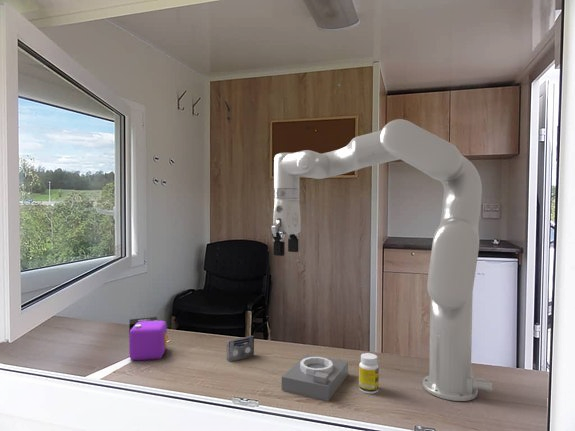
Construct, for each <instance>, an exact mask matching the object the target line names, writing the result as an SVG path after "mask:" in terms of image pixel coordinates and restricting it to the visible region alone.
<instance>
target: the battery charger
mask: <svg viewBox="0 0 575 431" xmlns="http://www.w3.org/2000/svg"><path fill="white" fill-rule="evenodd" d="M141 321H159V320H158V317H157V316H153V317H143V318H142V317H140V318H132V319H131V318H130V319H129V321H128V322H129V324H128V325H129V326H128V327H129V332H128V333H129V334H130V330H131V329H132V328H133V327H134V325H135V324H136V323H138V322H141Z"/></svg>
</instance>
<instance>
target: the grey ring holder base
mask: <svg viewBox="0 0 575 431" xmlns="http://www.w3.org/2000/svg"><path fill="white" fill-rule="evenodd" d="M348 375H349V361H346V360H340V359H337V358H336V359H335V358H330V357H324V356H319V355H314V354H309V353H308V354H305V355H304V356H303V357H302V358H301V359H300V360H299V361H297V363H295V364H294V365H292V367H291V368H289V369H288V371H287V372H285V373H283V375H282V376H281V391H282V390H283V391H282V392H286V391H287V393H290V392H291V393H290V394H295V395H300V396H304V397H307V398H308V397H309V398H312V399H317V400H320V401H324V402H329V400H331V398H332V397H333V396H334V394H335V393H336V392H337V390H339V388H340V386H341V385H342V383H343V382H344V381H345V379H346V378H347V377H348Z"/></svg>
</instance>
